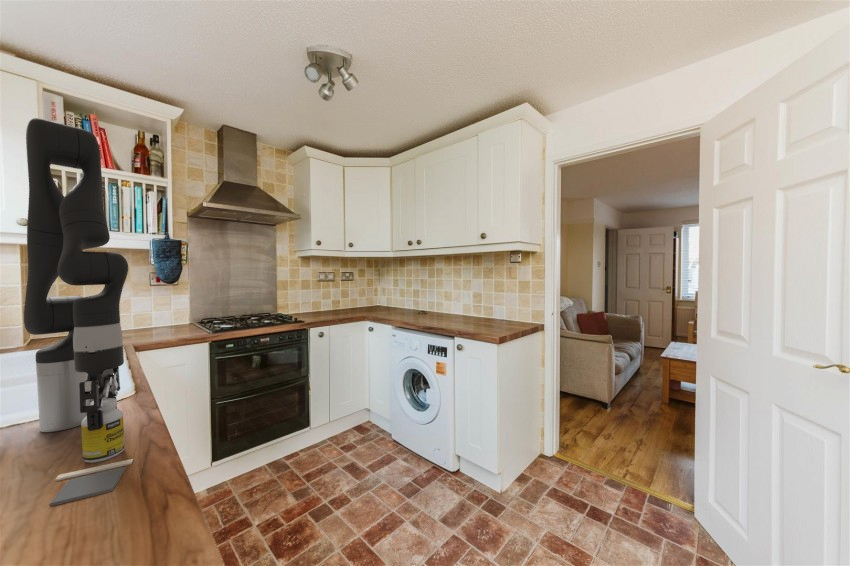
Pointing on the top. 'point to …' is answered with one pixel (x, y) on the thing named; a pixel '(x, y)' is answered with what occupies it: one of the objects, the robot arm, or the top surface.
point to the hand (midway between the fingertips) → (103, 421)
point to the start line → (94, 469)
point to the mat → (88, 486)
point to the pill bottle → (104, 434)
